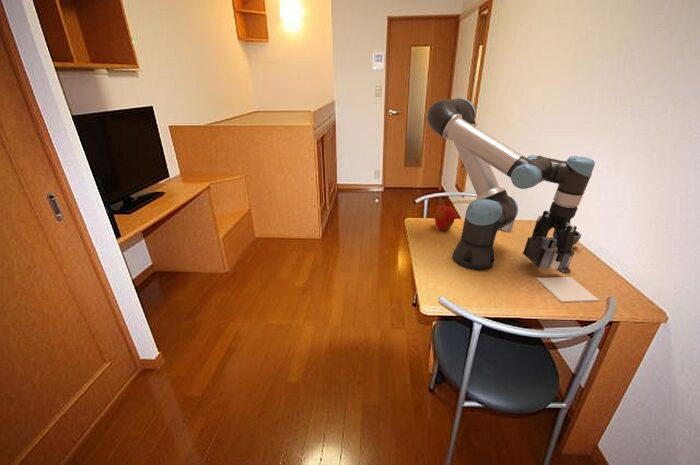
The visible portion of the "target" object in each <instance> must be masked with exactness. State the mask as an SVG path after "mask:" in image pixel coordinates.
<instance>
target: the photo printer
mask: <svg viewBox="0 0 700 465" xmlns="http://www.w3.org/2000/svg"><path fill="white" fill-rule="evenodd" d="M515 221H516V218H515V219H514V220H513V221H512V222H511V223H510V224H509V225H507V226H505V227H503V228H501V229H500V230H501V231H503V232H506V233H510V232H512V230H513V227H514V224H515Z"/></svg>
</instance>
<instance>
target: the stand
mask: <svg viewBox="0 0 700 465" xmlns="http://www.w3.org/2000/svg"><path fill="white" fill-rule="evenodd" d="M574 255H575V250H574V249H572V253H571V255H570V258H569V260H568V262H567V265H566V267H565V268H557V269H556V270H557V271H558V272H561V273H563V274H570V273H571V271H572V269H571V268H569V267H570V265H571V263H572V262H571V261H572V260H573V258H574Z"/></svg>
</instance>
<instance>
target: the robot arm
mask: <svg viewBox="0 0 700 465" xmlns="http://www.w3.org/2000/svg"><path fill="white" fill-rule="evenodd" d="M476 115H477V113H476V108H475V106H474V104H473V103H472V102H471V101H470V100H468V99H464V98H457V97H456V98H453V99H452V98H451V99H450V98H448V99H446V98H443V99H439V100H437V101H435V102H433V104H431V106H430V107H429V109H428V110H427V114H426V122H427V125H428V127H429V128H430V129H431V130H432V131H433V132H434V133H435V134H436V135H438V136H439V137H442V138H443V139H444V140H445V139H446V140H449V141H452V142H453V144H454V146H455V148H456V150H457V152H458V155H459V157H460V159H461V162H462V164H463V166H464V169H465V170H466V171H465V172H466V173H467V175H468V179H469V180H470V182H471V185H472V187H473V189H474V191H475V194H476V198H475V200H473V201H470V202H469V204H468V205H467V209H466V210H465V216H464V221H463V227H462V232H461V237H460V239H459V240H460V241H458V243H457V244H456V247H455V248H454V249H453V252H452V260H453V261H454V263H455V264H456V265H458V266H460V267H463V268H465V269H467V270H469V271H470V270H471V271H477V272H484V271H488V270H491V269H492V268H493V267H494V264H495V253H494V243H495V241H496V237H497V232H498V231H500V230H501V228H503V227H505V226H507V225H509V224H510V223H511V222H512V221H513V220H514V219H515V220H516V218H517V216H518V214H519V206H518V203H517V201H516V199H515V198H514V197H512V196H510V195H508V192H507V190H506V189H505V188H504V187H501V186H500V185H499V183H498V181H497V178H496V176H495V174H494V172H493V169H492V167H493V168H495V169H496V170H498V171H499V172H501V173H502V174H504V175H506V176H507V177H508V178H510V181H511V183H512V185H513V186H514V187H516V188H518V189H520V190H526V189H531V188H534V187H536V186H537V185H538V184H540V183H542V182H548V183H552V184H557V188H556V191H555V193H554V196H553V198H552V200H553V201H551V204H550V207H549V210H543V212H542V215H541V216H542V217H541V219H540V220H539V222H538V224H537V225H536V224H535V225H536V227H535V226H534V228H533V230H532V233H533V232H534V233H536V237H542V236H545V234H546V233H547V232H548V233H549V231H550V230H552V229H553V230H554V229H555V230H556V234H557V247H556V248H557V250H558V252H555V254H554V256H553V259H552V261H551V264H550V266H549V268H548V269H553V270H554V269H556V270H557V268H558V266H559V264H560V262H561V261H562V259H563V257H564V255H570V254H571V251H572V250H573V246H574V245H573V239H574V233H575V231H577V229H578V228H577V226H576V225H572V224H571V220H572V219H573V218H574V217H575V216H576V214H577V211H578V209H579V208H578V206H579V205H580V203H581V201H582V198H583V196H584V193H585V191H586V188H587V186H588V184H589V182H590V179H591V178H592V173H593V171H594V167H595V164H596V162H595V161H594V160H593V159H592V158H589V157H585V156H578V155H571V156H569V157H568V158H567V159H566V160H559V159H555V158H550V157H545V156H542V155H535V154H531V155H528V156H527V157H525V156H524V155H523V154H521V153H520V152H518V151H516V150H514V149H513V148H511V147H510V146H507V145H506V144H504V143H503V142H501V141H499V140H498V139H496V138H495V137H493V136H491V135H490V134H488V133H486V132H485V131H484V130H483V131H482V130H481V129H479V128H478V127H477V123H476V120H475V119H476ZM560 230H563V231H560ZM572 245H573V246H572ZM561 249H562V250H561Z"/></svg>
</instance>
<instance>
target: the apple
mask: <svg viewBox="0 0 700 465" xmlns="http://www.w3.org/2000/svg"><path fill="white" fill-rule="evenodd" d="M455 220H456V211H455V209H454V208H453V207H451V206H448V205H441V206H439V207H438V208H436V210H435V213H434V221H435V222H434V223H435V226H436V228H438V230H440V231H443V232H446V231H448V230H449V229H451V227H452V226H453V224H454V223H455Z"/></svg>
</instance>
